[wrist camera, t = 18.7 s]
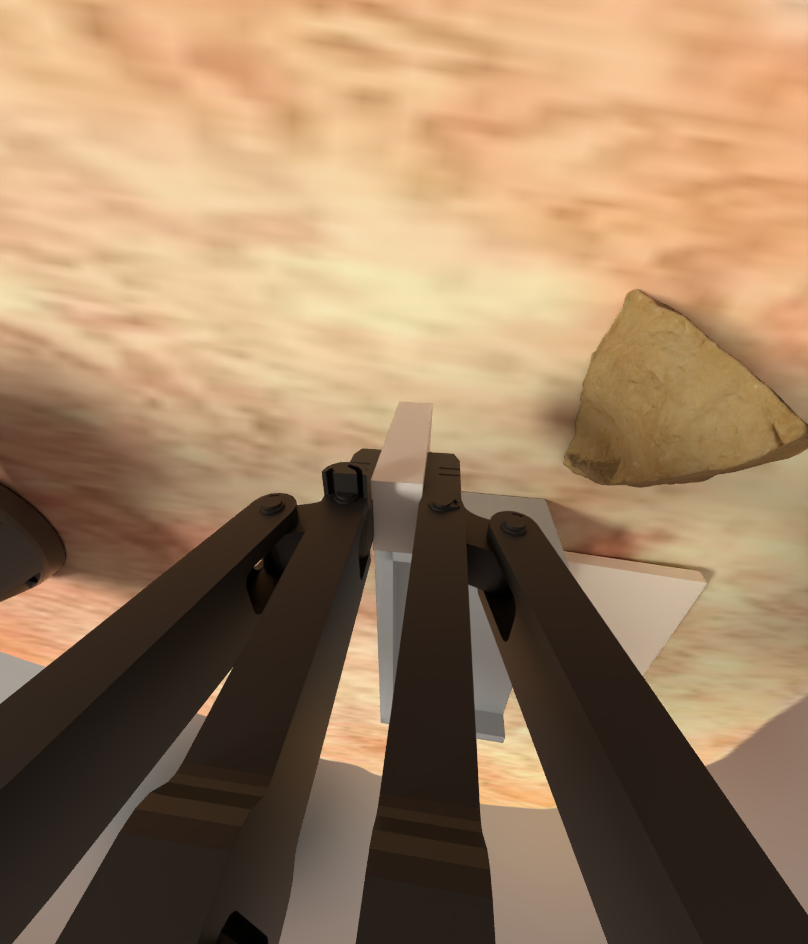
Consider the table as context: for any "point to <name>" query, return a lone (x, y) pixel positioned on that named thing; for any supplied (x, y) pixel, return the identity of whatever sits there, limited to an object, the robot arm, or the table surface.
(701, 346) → the rock
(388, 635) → the bed
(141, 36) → the table surface
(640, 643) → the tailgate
